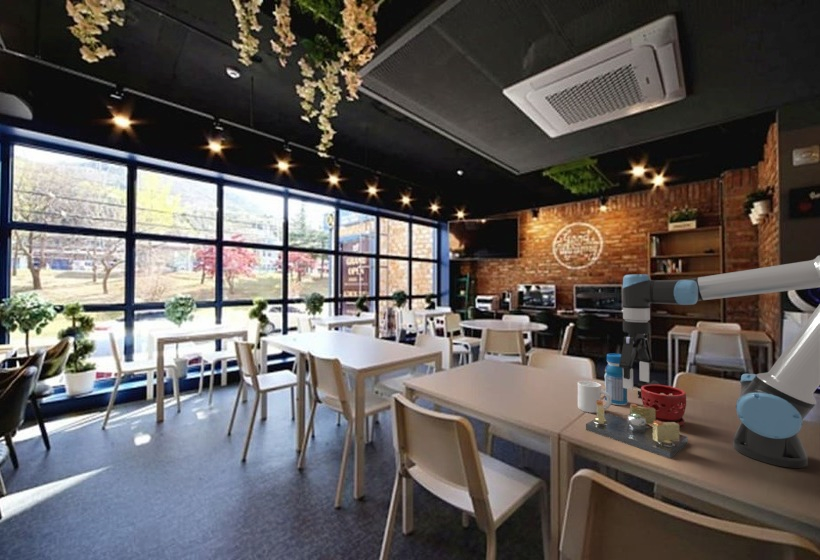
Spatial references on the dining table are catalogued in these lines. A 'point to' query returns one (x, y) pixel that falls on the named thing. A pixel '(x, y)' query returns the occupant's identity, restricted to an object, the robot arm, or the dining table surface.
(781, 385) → the robot arm
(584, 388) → the mug
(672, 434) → the knob
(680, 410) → the plant pot
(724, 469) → the dining table surface
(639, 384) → the end cap
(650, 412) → the knob rear
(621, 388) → the beverage bottle
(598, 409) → the knob
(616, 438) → the levelling plate
